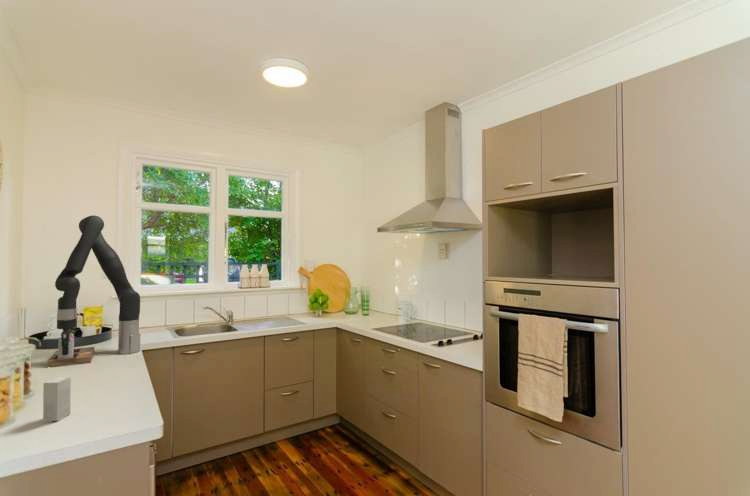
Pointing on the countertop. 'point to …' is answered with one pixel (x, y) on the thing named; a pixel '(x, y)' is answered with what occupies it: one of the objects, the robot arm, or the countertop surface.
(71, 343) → the supplement box
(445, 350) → the countertop surface
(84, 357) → the socket block
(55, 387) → the skincare box
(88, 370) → the countertop surface
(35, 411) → the countertop surface
